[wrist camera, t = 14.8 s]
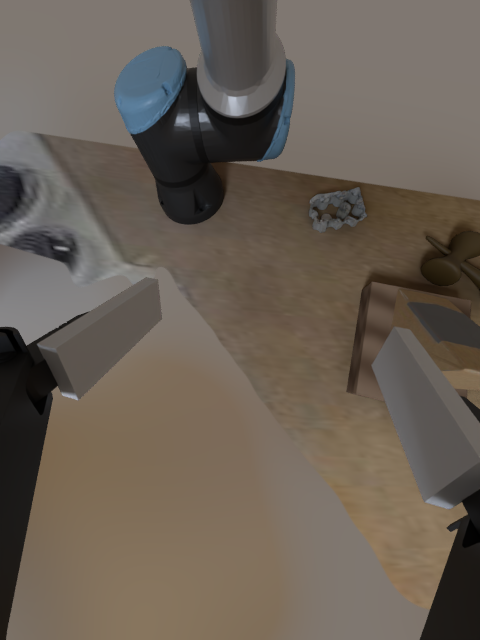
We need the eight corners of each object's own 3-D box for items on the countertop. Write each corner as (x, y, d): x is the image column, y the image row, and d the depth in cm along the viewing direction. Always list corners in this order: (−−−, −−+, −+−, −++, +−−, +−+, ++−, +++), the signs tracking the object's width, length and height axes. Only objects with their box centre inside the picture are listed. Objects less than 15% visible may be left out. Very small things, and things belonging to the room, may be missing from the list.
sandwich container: (450, 299, 38) (565, 252, 24) (441, 388, 35) (567, 397, 21) (397, 287, 40) (475, 237, 25) (383, 372, 37) (464, 370, 22)
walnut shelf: (362, 290, 44) (372, 281, 40) (450, 307, 42) (470, 300, 38) (346, 391, 40) (356, 393, 36) (444, 417, 38) (466, 422, 34)
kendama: (486, 332, 41) (399, 259, 45) (518, 298, 42) (430, 231, 46) (525, 325, 35) (421, 242, 39) (561, 286, 36) (455, 210, 41)
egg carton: (312, 235, 49) (316, 223, 45) (306, 206, 51) (309, 192, 47) (362, 228, 48) (371, 214, 44) (354, 199, 50) (362, 183, 46)
